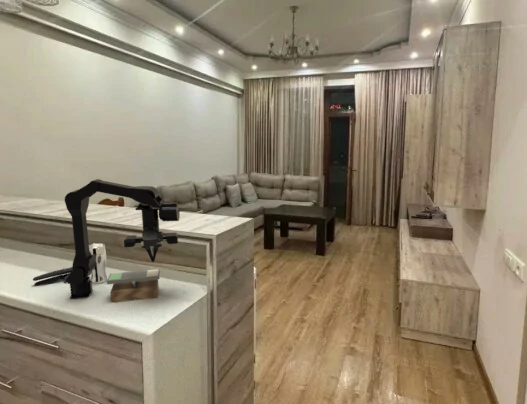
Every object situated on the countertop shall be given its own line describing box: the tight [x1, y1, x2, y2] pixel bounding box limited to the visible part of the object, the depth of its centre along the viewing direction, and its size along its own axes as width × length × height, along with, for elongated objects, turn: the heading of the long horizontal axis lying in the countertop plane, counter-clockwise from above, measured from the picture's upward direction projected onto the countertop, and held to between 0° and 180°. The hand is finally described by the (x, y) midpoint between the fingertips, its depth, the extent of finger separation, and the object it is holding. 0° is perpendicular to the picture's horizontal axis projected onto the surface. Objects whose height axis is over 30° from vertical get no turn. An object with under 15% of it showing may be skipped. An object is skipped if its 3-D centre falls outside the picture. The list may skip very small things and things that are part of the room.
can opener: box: [32, 266, 72, 287], centre depth 145 cm, size 18×7×6 cm, turn 115°
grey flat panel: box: [106, 268, 161, 285], centre depth 132 cm, size 18×7×2 cm, turn 104°
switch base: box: [110, 279, 159, 303], centre depth 133 cm, size 16×9×6 cm, turn 104°
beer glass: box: [89, 243, 108, 285], centre depth 145 cm, size 7×7×15 cm
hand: (153, 261), depth 133 cm, fingers closed
